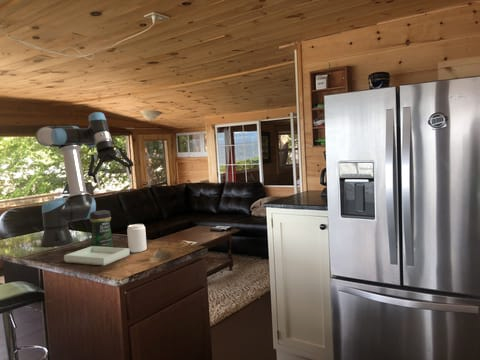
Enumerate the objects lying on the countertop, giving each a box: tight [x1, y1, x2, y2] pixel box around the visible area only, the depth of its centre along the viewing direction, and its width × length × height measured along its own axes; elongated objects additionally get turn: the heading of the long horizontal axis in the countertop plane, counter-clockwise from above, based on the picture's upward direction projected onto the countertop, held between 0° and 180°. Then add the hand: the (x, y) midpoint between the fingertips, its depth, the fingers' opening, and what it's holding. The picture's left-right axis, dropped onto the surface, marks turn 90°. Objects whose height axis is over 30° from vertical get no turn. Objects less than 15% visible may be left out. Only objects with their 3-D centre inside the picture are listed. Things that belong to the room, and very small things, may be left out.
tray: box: [63, 245, 131, 266], centre depth 171 cm, size 22×16×3 cm
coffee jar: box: [89, 209, 114, 247], centre depth 190 cm, size 10×8×19 cm
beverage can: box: [126, 223, 148, 254], centre depth 180 cm, size 8×8×12 cm
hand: (115, 184), depth 175 cm, fingers open, 13 cm apart
